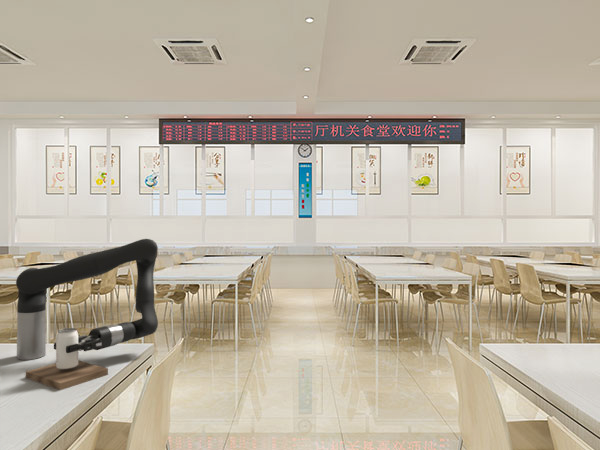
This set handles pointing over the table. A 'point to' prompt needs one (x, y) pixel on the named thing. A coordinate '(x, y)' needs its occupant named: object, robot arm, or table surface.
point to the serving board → (66, 375)
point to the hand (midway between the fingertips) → (60, 348)
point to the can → (63, 340)
